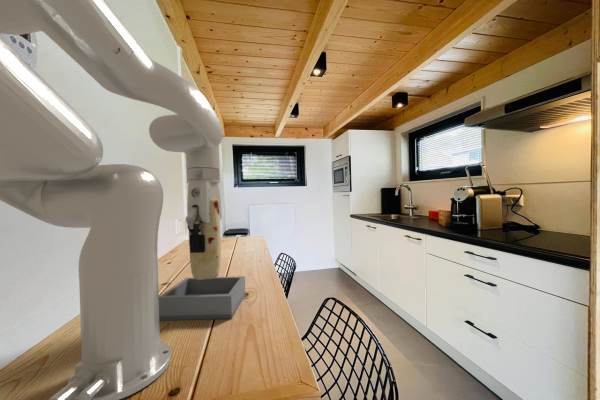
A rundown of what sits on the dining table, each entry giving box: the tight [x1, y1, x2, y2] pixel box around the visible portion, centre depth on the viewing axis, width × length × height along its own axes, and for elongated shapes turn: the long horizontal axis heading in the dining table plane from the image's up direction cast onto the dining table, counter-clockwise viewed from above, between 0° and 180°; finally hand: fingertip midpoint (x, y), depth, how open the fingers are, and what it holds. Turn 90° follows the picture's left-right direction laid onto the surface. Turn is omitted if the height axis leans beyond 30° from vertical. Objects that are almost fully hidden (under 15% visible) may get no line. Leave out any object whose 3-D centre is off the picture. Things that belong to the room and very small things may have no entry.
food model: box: [188, 197, 222, 280], centre depth 58 cm, size 10×7×20 cm
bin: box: [159, 275, 246, 321], centre depth 58 cm, size 13×16×5 cm
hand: (205, 247), depth 58 cm, fingers closed on food model, 8 cm apart
